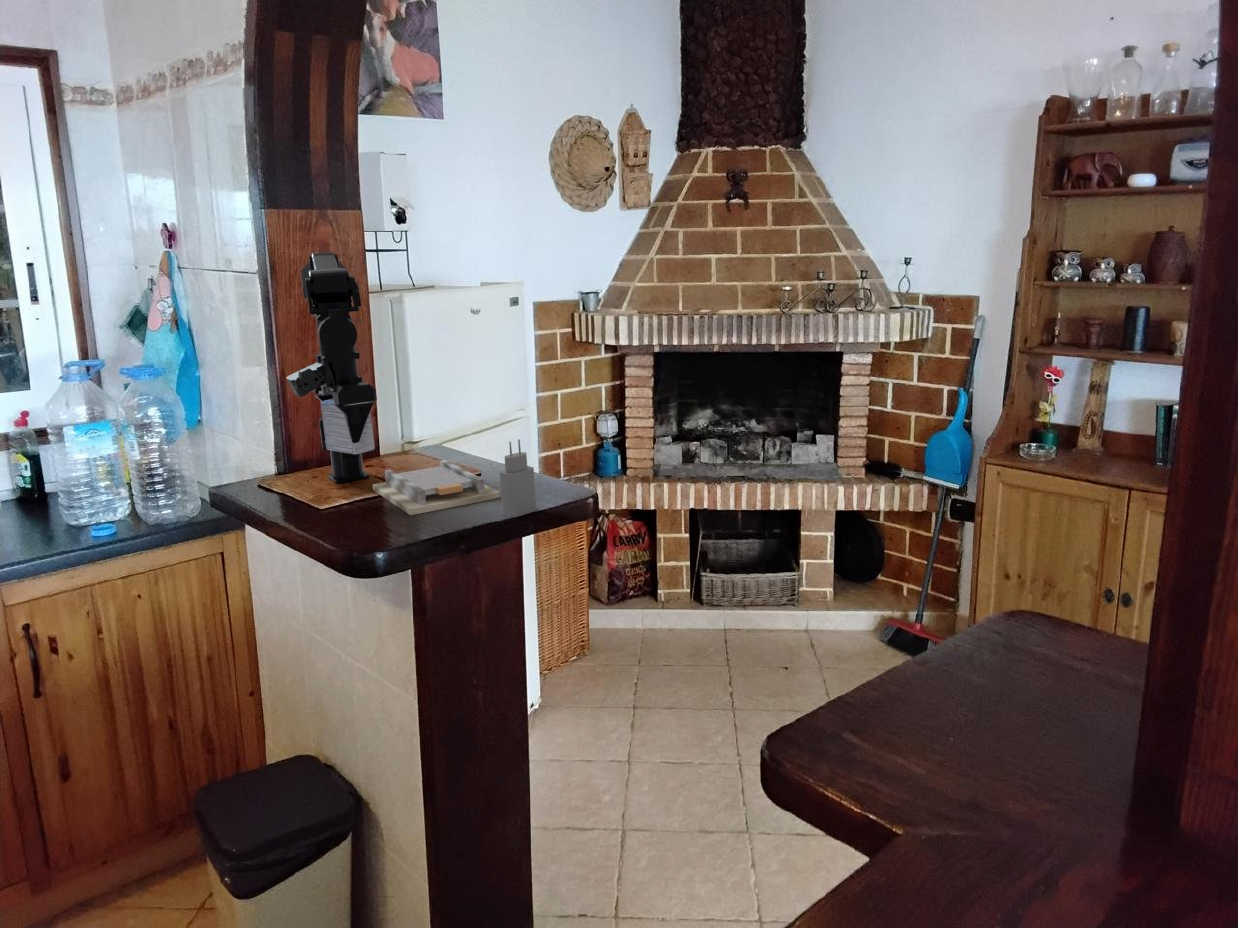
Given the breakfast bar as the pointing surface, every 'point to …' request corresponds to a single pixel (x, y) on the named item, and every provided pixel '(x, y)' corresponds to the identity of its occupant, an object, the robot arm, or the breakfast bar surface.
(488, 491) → the rail board
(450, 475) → the rail carriage
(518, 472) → the power adapter
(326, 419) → the medicine box
